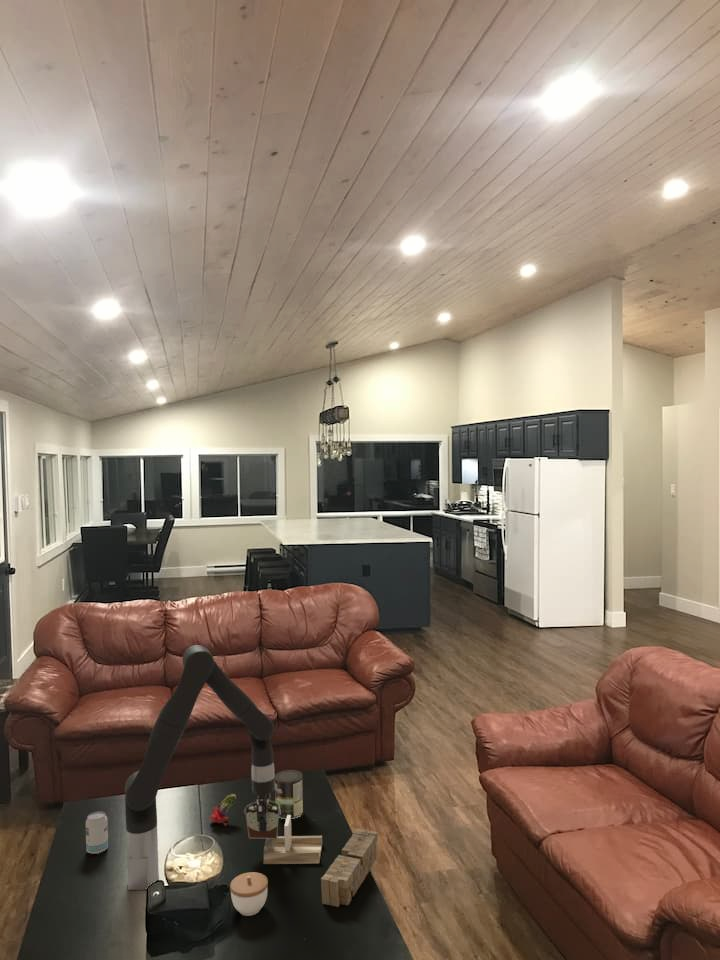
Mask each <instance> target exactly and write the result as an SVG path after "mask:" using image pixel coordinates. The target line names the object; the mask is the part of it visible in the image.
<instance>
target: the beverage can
mask: <svg viewBox="0 0 720 960" xmlns="http://www.w3.org/2000/svg"><path fill="white" fill-rule="evenodd" d="M108 820H109V819H108V817H107V815H106V812H104V811H93V812H91V813H90V814H88V815H87V818H86V821H85V845H86V846H85V848H86V852H87V853H88V854H90V853H91V854H90V855H92V854H97V855H100V854H102V853H104V852H105V851H106V850H107V849H108V847H109V831H108V830H109V825H108V823H109V822H108ZM103 851H104V852H103ZM101 852H102V853H101ZM99 853H100V854H99Z"/></svg>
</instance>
